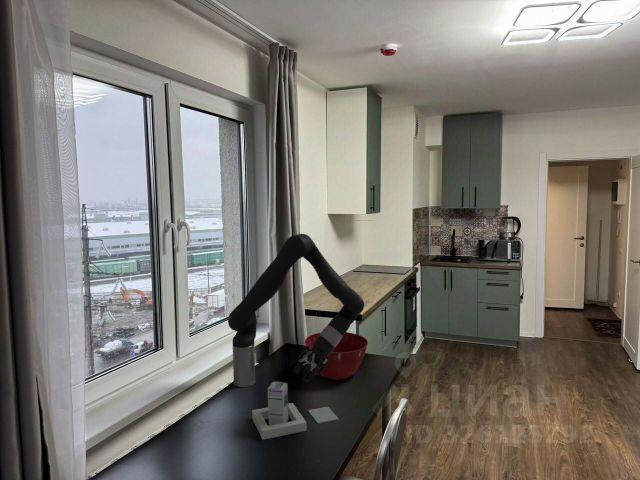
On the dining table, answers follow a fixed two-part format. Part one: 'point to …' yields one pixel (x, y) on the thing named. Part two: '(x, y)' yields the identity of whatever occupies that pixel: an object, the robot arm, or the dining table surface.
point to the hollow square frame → (279, 429)
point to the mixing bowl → (342, 356)
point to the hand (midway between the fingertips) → (300, 376)
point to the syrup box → (278, 403)
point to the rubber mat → (323, 415)
